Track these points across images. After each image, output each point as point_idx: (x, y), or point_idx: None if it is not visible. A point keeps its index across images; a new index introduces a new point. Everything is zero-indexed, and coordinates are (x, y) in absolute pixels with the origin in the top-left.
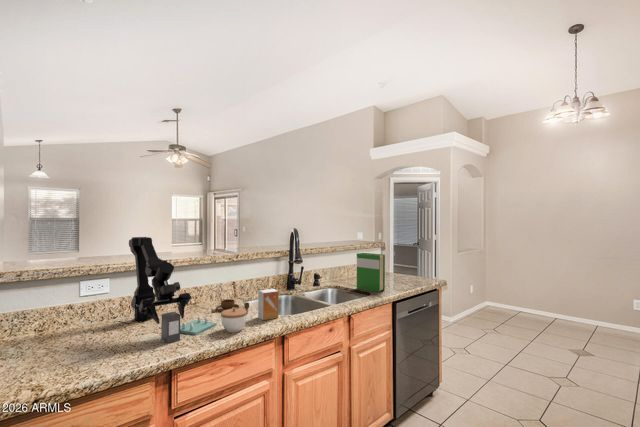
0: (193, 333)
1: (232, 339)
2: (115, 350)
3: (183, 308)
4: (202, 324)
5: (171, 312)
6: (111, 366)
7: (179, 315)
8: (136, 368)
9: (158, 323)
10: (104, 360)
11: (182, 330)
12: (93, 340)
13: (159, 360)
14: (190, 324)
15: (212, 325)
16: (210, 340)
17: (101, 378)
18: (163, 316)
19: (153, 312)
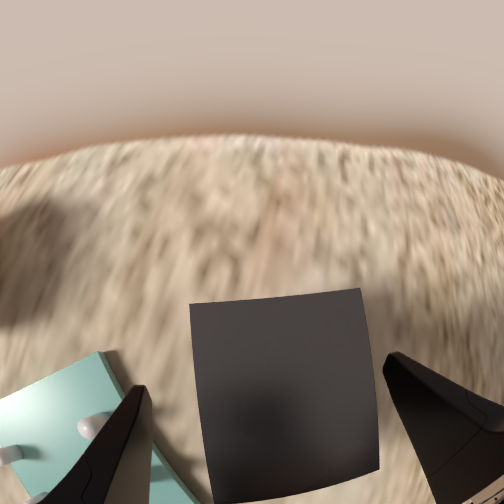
0: (108, 370)
1: (36, 178)
2: (467, 364)
3: (90, 461)
4: (35, 453)
5: (262, 486)
6: (460, 219)
7: (202, 306)
8: (400, 156)
9: (388, 363)
10: (482, 282)
11: (154, 453)
12: None
13: (340, 158)
14: (95, 426)
15: (2, 399)
16: (88, 220)
17: (457, 167)
18: (369, 408)
19: (485, 399)
